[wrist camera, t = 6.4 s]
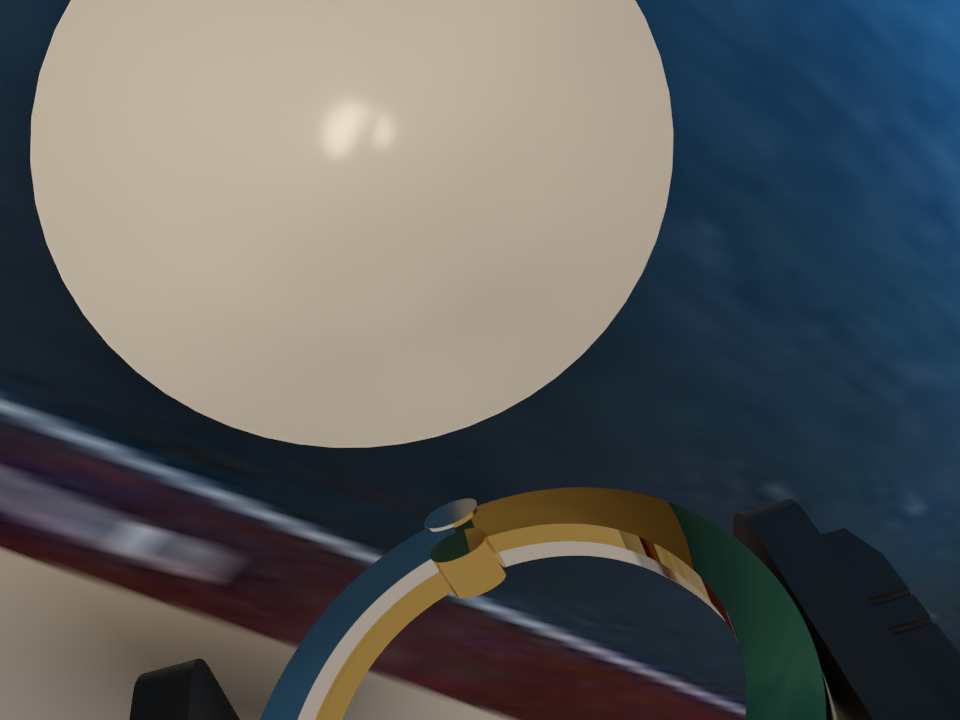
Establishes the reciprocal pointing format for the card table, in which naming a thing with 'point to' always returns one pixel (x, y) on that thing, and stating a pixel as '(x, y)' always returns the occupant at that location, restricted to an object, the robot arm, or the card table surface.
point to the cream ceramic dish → (351, 199)
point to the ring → (548, 533)
